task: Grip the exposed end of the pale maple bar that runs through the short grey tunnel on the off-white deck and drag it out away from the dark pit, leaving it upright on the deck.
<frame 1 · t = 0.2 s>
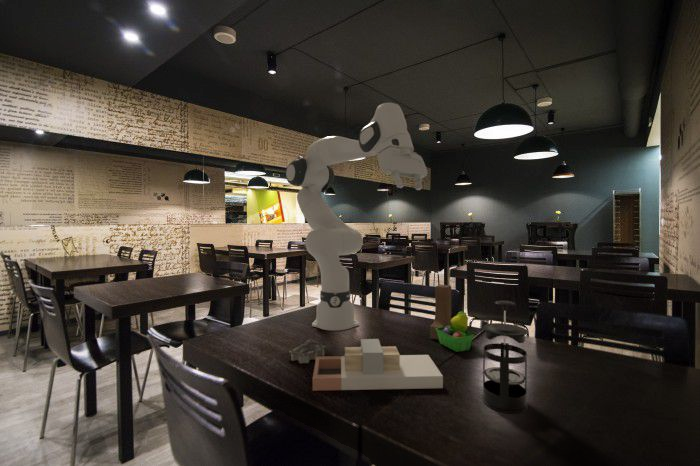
hand: (410, 188, 109), 52 cm above the table, tool tilted 20°, fingers open, 8 cm apart
maple bar: (371, 365, 92), point 3 cm above the table, touching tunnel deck
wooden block: (440, 337, 125), on the table
fruit basket: (455, 347, 115), on the table
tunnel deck: (375, 376, 92), on the table
french press: (504, 402, 79), on the table
egg carton: (308, 358, 107), on the table
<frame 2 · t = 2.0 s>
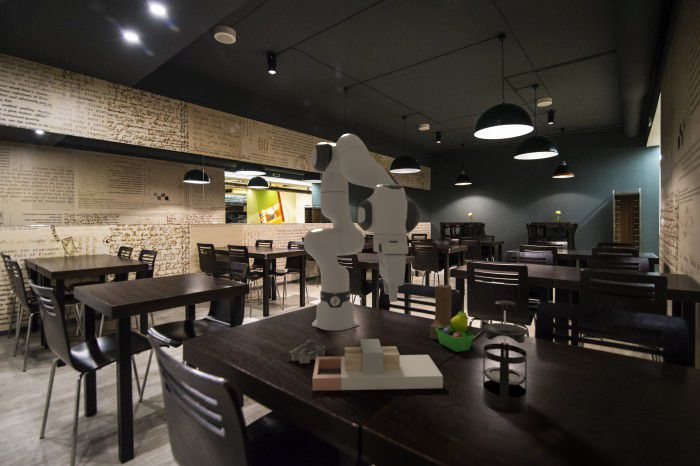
hand: (390, 297, 92), 21 cm above the table, tool pointing down, fingers open, 8 cm apart
nothing on the table moved.
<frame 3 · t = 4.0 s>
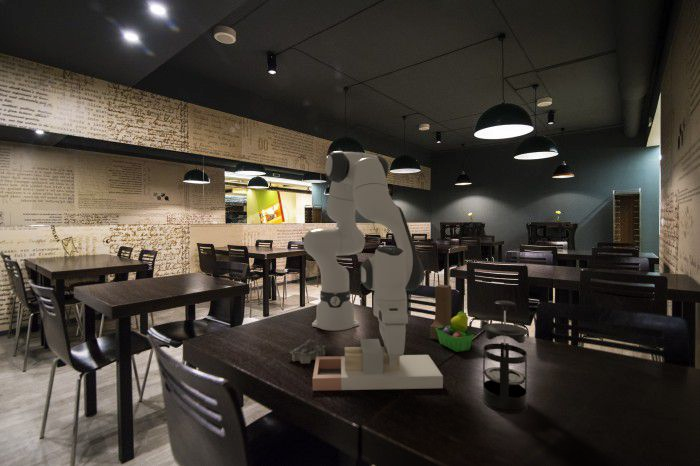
hand: (390, 360, 92), 4 cm above the table, tool pointing down, fingers closed on maple bar, 6 cm apart
maple bar: (371, 365, 92), point 3 cm above the table, touching gripper, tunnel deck
everything else where it was.
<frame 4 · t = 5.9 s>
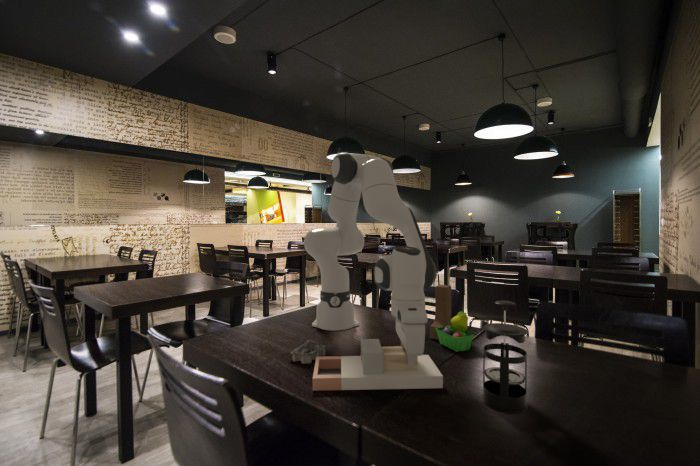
hand: (408, 360, 92), 4 cm above the table, tool pointing down, fingers closed on maple bar, 6 cm apart
maple bar: (388, 365, 92), point 3 cm above the table, touching gripper
everything else where it was.
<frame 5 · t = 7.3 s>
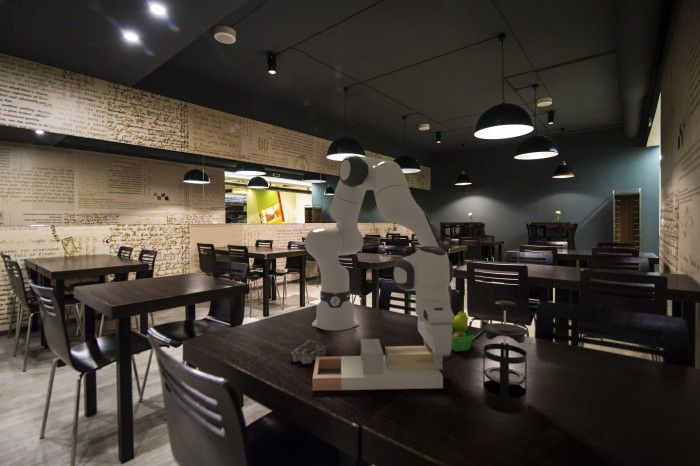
hand: (432, 359, 92), 4 cm above the table, tool pointing down, fingers closed on maple bar, 6 cm apart
maple bar: (413, 365, 92), point 3 cm above the table, touching gripper
everything else where it was.
when the fingers open (4 cm above the table, at t = 7.9 s): maple bar stays where it is, resting on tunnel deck.
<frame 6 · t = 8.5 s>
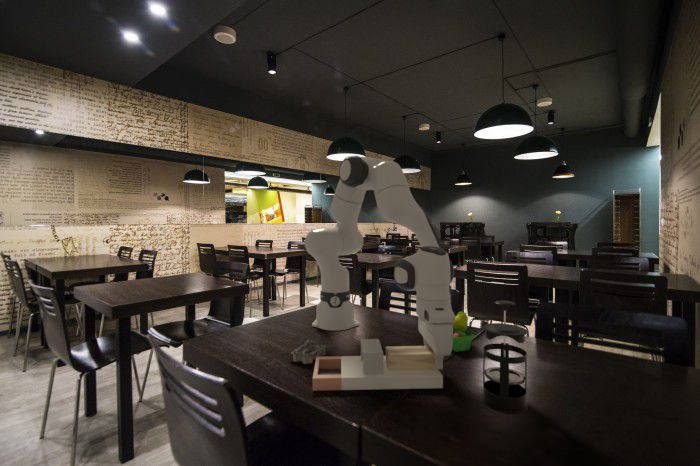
hand: (433, 359, 93), 4 cm above the table, tool pointing down, fingers open, 8 cm apart
maple bar: (413, 364, 92), point 3 cm above the table, touching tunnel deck
everything else where it was.
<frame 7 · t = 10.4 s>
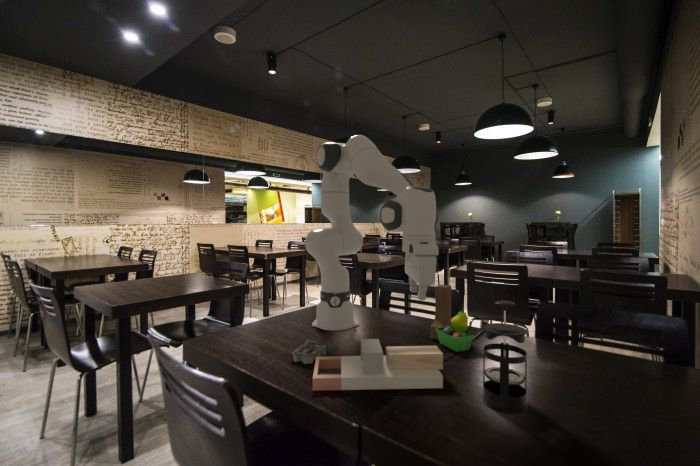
hand: (417, 295, 95), 21 cm above the table, tool pointing down, fingers open, 8 cm apart
nothing on the table moved.
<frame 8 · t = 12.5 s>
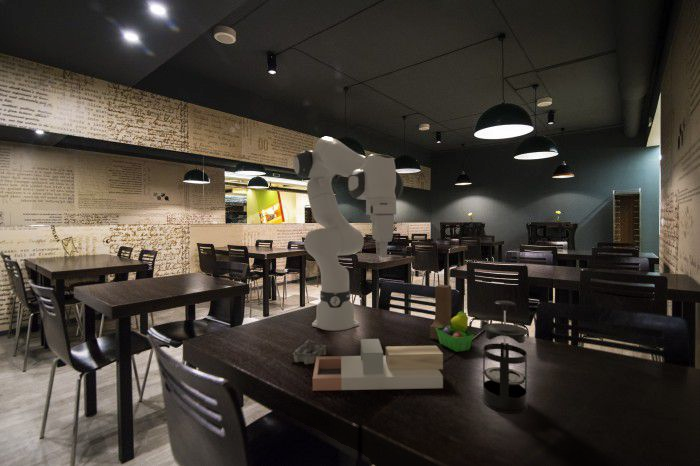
hand: (381, 255, 102), 31 cm above the table, tool pointing down, fingers open, 8 cm apart
nothing on the table moved.
at the end: maple bar 1.3 cm from the target spot on the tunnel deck, point 3.0 cm above the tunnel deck's base; maple bar tilted 0°; the gripper is holding nothing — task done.
